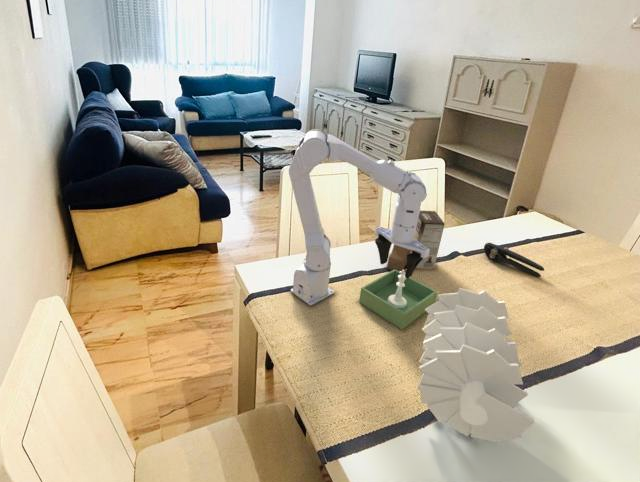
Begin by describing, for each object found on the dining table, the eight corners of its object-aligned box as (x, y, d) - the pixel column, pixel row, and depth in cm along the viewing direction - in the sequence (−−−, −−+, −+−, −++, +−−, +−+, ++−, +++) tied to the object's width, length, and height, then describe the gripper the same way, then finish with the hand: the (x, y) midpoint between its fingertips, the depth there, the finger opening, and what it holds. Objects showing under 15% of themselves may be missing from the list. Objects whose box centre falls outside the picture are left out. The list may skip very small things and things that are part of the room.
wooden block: (400, 274, 116) (411, 220, 109) (386, 269, 118) (395, 216, 111) (408, 261, 123) (419, 210, 116) (394, 256, 125) (404, 206, 119)
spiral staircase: (431, 451, 70) (434, 351, 91) (545, 460, 61) (520, 348, 83) (401, 371, 65) (412, 286, 87) (520, 370, 57) (500, 276, 78)
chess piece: (402, 310, 99) (409, 278, 95) (384, 302, 102) (390, 270, 98) (409, 301, 103) (416, 269, 99) (391, 294, 105) (397, 262, 102)
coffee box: (406, 253, 128) (414, 209, 122) (425, 254, 128) (435, 210, 122) (414, 268, 119) (424, 222, 113) (435, 269, 119) (446, 223, 113)
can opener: (477, 257, 127) (481, 242, 125) (486, 251, 132) (490, 236, 130) (537, 282, 115) (542, 266, 113) (544, 274, 120) (550, 259, 118)
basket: (401, 329, 93) (405, 314, 91) (358, 301, 102) (361, 287, 101) (434, 305, 102) (437, 291, 101) (392, 282, 112) (394, 268, 110)
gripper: (440, 229, 92) (429, 277, 97) (389, 208, 103) (381, 253, 108) (424, 237, 88) (413, 287, 93) (373, 215, 98) (366, 260, 103)
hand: (395, 269), depth 100 cm, fingers open, 7 cm apart
